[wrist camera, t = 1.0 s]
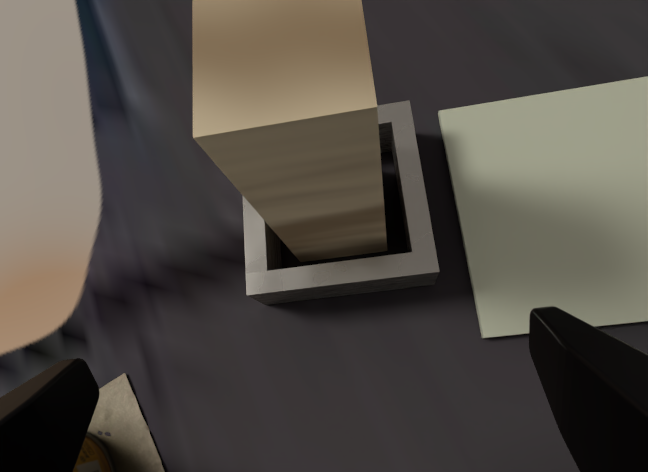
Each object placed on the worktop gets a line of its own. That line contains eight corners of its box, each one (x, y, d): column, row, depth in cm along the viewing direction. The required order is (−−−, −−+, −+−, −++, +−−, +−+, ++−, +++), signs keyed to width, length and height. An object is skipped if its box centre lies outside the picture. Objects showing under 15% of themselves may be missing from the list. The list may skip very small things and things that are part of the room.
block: (387, 250, 23) (377, 107, 10) (300, 262, 23) (192, 137, 11) (376, 170, 24) (355, -41, 12) (294, 183, 25) (192, -7, 12)
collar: (434, 284, 22) (439, 271, 19) (265, 304, 23) (246, 295, 20) (407, 132, 24) (409, 100, 22) (257, 156, 25) (240, 128, 22)
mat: (766, 308, 19) (773, 307, 19) (482, 338, 21) (483, 337, 20) (674, 76, 23) (679, 71, 23) (438, 114, 24) (438, 110, 24)
